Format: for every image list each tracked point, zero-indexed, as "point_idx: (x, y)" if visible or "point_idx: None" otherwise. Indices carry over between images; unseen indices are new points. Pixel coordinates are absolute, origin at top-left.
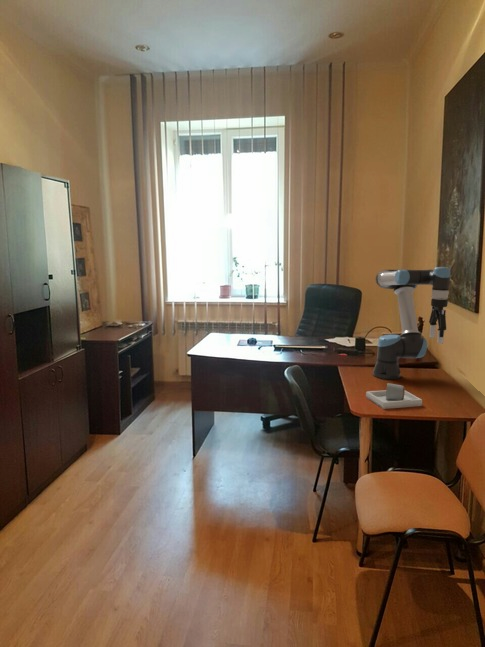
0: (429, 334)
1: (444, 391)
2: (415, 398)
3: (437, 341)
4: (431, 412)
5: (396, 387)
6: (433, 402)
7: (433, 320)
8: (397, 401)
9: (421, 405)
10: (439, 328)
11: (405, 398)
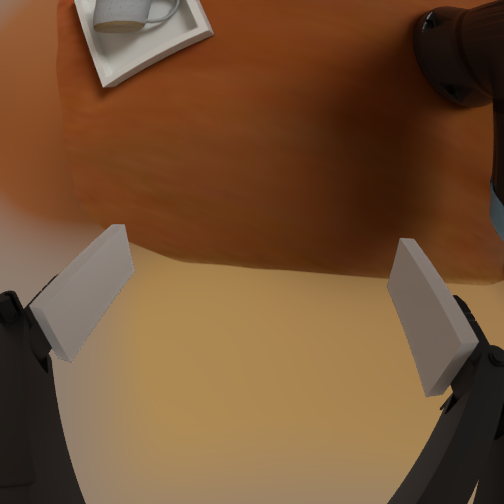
0: (425, 256)
1: (283, 199)
2: (123, 68)
3: (105, 232)
4: (75, 110)
5: (96, 4)
6: (152, 127)
7: (436, 451)
8: (81, 20)
9: (113, 86)
10: (6, 324)
11: (151, 39)
